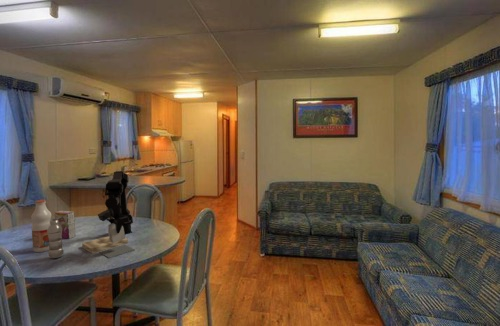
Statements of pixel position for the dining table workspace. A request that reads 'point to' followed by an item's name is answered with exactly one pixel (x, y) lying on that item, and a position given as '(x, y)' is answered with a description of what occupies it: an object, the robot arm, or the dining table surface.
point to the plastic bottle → (55, 239)
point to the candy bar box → (66, 223)
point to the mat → (117, 251)
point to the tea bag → (115, 233)
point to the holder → (102, 244)
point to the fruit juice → (40, 226)
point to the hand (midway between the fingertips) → (116, 232)
